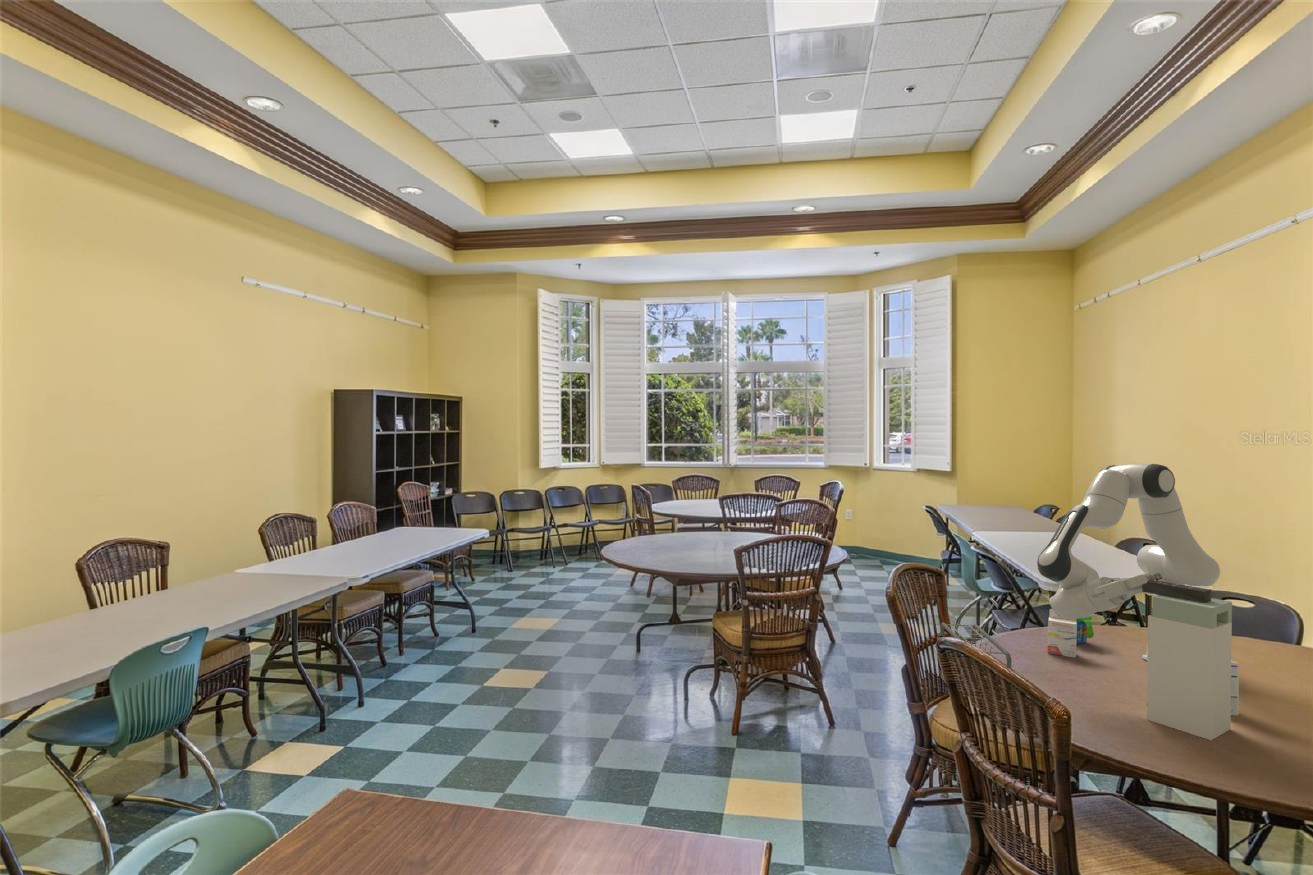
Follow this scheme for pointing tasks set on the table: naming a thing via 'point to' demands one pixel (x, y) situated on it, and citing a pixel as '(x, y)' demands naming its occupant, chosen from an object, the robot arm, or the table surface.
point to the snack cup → (1084, 629)
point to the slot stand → (1190, 665)
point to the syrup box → (1234, 688)
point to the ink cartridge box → (1061, 635)
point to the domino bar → (1177, 591)
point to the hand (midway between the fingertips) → (1154, 577)
